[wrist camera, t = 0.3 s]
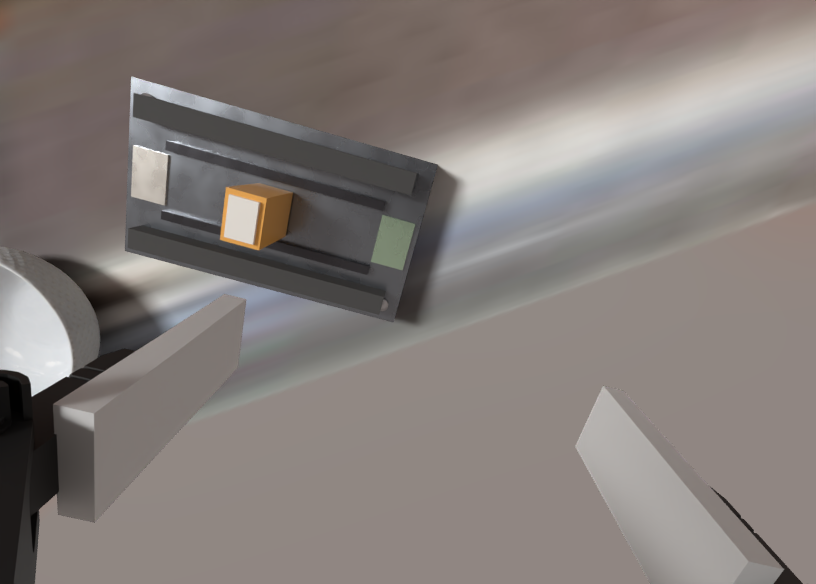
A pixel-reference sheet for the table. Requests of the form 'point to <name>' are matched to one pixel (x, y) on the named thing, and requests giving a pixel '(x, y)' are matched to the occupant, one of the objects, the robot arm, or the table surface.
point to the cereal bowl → (43, 321)
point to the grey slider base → (312, 188)
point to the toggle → (255, 215)
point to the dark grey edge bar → (255, 268)
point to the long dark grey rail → (273, 144)
